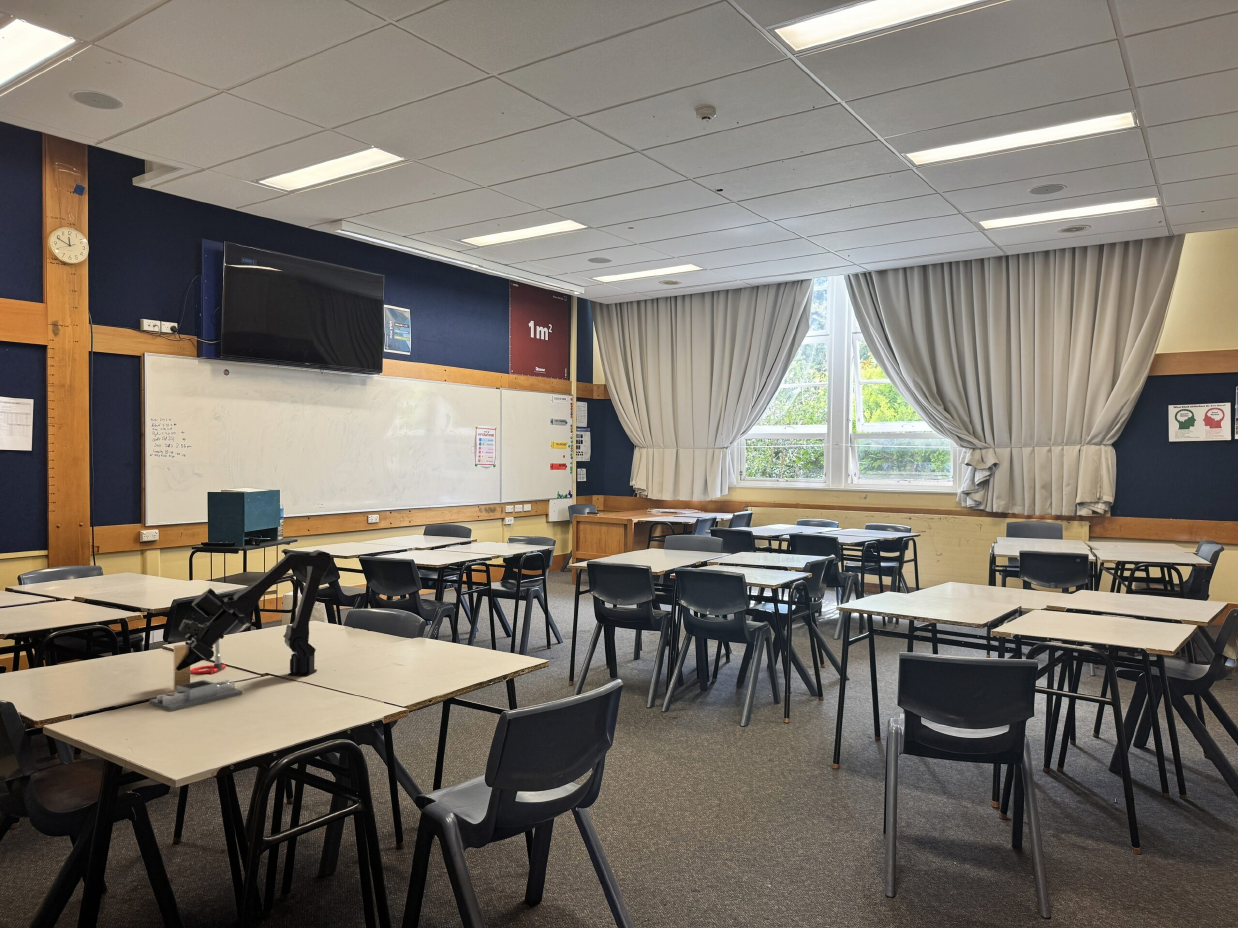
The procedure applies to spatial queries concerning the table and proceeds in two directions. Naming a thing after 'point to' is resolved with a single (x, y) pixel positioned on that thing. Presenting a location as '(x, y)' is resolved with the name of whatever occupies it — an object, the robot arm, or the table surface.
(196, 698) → the grey fixture tray
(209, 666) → the tow hook
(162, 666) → the table surface
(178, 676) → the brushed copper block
